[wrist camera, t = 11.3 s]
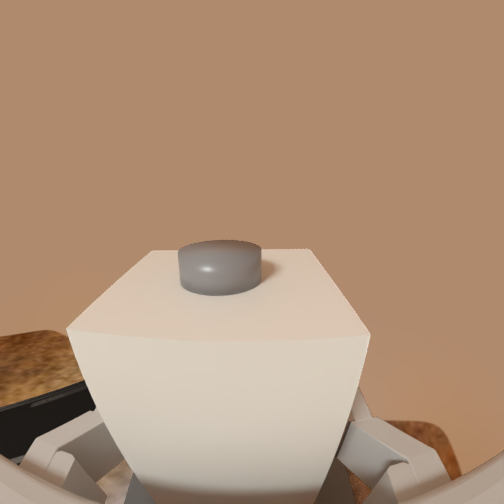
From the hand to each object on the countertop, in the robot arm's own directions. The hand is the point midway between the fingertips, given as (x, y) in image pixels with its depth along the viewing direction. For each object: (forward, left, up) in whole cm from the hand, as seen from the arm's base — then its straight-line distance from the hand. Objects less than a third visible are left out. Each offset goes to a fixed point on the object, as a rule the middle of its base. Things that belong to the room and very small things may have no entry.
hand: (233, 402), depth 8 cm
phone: (-16, +5, -12) cm, 21 cm away
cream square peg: (0, -1, -6) cm, 7 cm away
